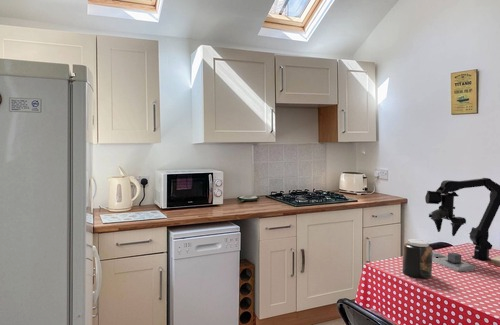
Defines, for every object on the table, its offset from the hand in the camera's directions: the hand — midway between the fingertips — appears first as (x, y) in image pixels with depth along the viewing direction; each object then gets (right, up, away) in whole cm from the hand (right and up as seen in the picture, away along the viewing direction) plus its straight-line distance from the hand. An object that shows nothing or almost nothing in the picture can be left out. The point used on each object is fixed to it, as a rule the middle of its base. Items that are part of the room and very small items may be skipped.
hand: (445, 233), depth 189 cm
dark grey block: (-4, -13, -15) cm, 20 cm away
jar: (-29, -13, -28) cm, 42 cm away
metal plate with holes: (-6, -12, -11) cm, 17 cm away
